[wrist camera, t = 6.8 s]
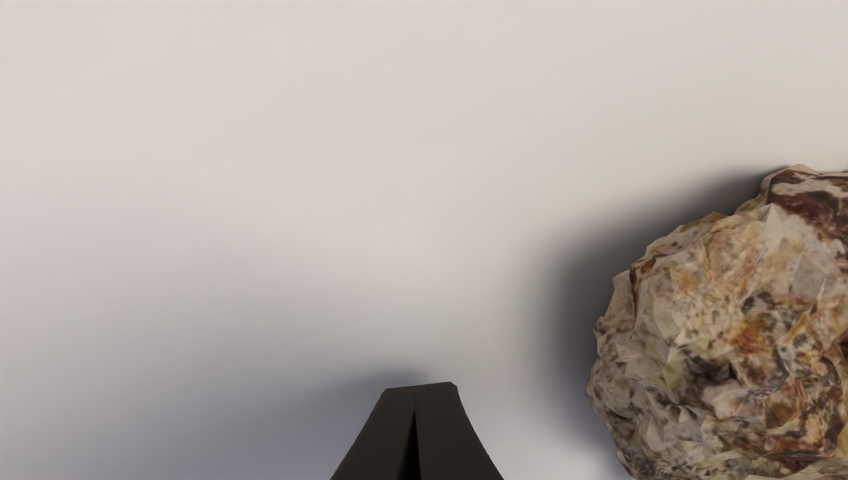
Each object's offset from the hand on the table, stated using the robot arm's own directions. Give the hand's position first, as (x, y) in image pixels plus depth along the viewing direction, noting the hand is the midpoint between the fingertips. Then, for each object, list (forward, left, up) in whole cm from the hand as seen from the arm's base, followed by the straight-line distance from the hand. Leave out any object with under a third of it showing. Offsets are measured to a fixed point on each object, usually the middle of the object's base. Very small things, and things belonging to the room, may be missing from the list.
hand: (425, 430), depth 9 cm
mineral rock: (0, -8, -1) cm, 8 cm away
